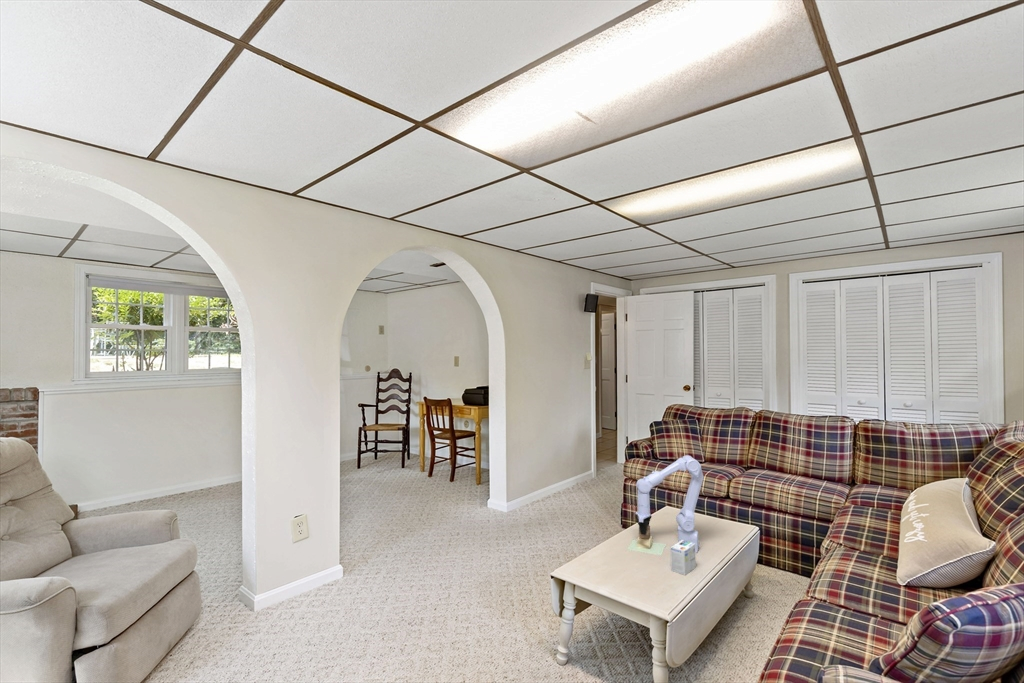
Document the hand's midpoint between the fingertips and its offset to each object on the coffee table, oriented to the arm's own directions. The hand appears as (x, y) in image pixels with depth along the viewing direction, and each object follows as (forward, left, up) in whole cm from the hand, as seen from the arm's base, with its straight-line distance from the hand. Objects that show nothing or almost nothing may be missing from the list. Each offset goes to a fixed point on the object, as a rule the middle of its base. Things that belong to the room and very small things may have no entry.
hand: (644, 532), depth 233 cm
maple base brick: (0, 0, -6) cm, 6 cm away
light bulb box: (-20, +16, -8) cm, 27 cm away
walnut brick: (0, 0, -2) cm, 2 cm away
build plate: (-1, +1, -8) cm, 8 cm away
